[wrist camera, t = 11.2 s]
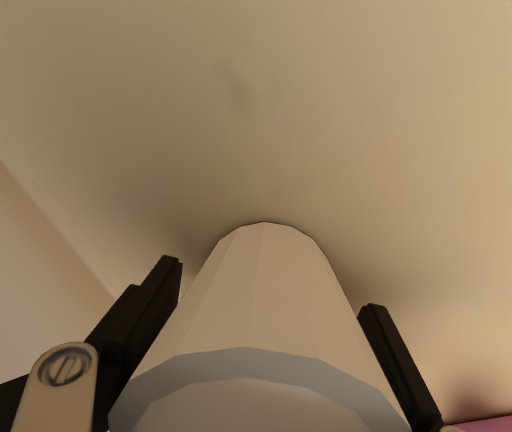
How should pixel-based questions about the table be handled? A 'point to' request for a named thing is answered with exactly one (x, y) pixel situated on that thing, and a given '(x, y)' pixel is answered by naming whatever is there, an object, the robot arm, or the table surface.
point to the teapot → (487, 425)
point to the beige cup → (260, 349)
